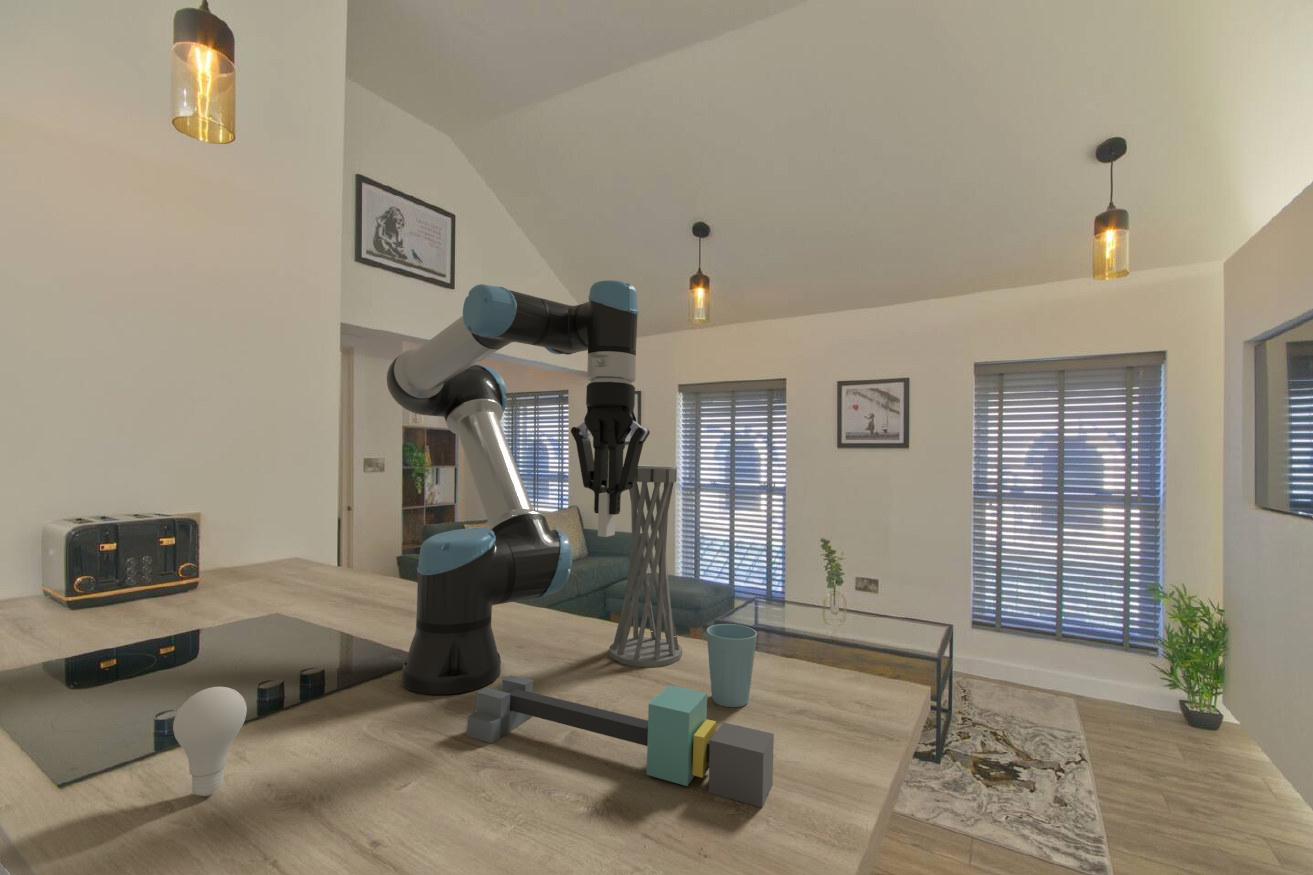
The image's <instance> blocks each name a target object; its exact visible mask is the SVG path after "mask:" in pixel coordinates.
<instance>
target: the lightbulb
mask: <svg viewBox="0 0 1313 875" xmlns="http://www.w3.org/2000/svg"><path fill="white" fill-rule="evenodd" d="M247 707H248V706H247V703H246V700H245V698H244V697H243V695H242V694H241V693H239V692H238V691H237V690H236V689H233V688H231V687H225V686H212V687H208V688H205V689H202V690H200V691H198V692H196V693H194V694H193V695H191V696H190V697H189V698H187V699H186V700H185V702H184V703H183V704H181V706H180V707H179V709H178V710H177V713H176V714H175V717H174V720H173V723H172V724H173V725H172V729H173V730H172V731H173V734H174V737H175V739H176V741H177V743H178V744H179V746H180V747H181V748H182V749H183V751H184V753H185V755H186V756H187V759H188V767H189V768H188V770H189V774H190V775H191V791H192V793H193V794H194V795H196V796H201V797H204V798H205V797H208V796H211V795H212V794H214V792H216V791H218V790H219V789H220V788H221V787H222V786H223V783H224V782H223V781H224V775H225V774H224V773H225V772H224V771H225V767H226V766H227V764H228V759H229V754H230V749H231V747H232V745H233V743H234V740H235V738H236V737H237V736H238V734H239V732H240V731H241V728H242V727H243V725H244V723H245V720H246V716H247V712H248V711H247V709H248V708H247Z"/></svg>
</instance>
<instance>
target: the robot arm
mask: <svg viewBox="0 0 1313 875" xmlns="http://www.w3.org/2000/svg"><path fill="white" fill-rule="evenodd" d="M638 307H639V306H638V291H637V289H636V288H635V287H634V286H633V285H632V284H630V283H627V282H624V281H620V280H615V279H613V280H599V281H597V282H594V283H593V284H592V285H591V286H590V288H589V296H588V301H587V302H584V303H580V304H575V305H570V304H564V303H561V302H558V301H554V300H549V299H546V298H541V297H538V296H535V295H530V294H525V293H522V292H518V291H516V290H515V291H514V290H511V289H508V288H505V287H503V286H497V285H495V286H494V285H487V284H481V283H480V284H476V285H474V286H473V287H471V289H470V290H469V291H468V295H467V296H466V297H465V299H464V303H463V307H462V316H460V317H459V318H458V319H456V320H455V321H454V322H452V323H451V324H449V325H448V326H447V327H446V328H444V329H443V330H441V331H440V332H439V333H437V334H436V335H435V336H433V337H432V338H431V339H429V340H428V341H427V342H425V343H424V344H422V346H420V347H419V348H412V349H408V350H405V351H403V352H402V353H401V354H399V355H398V356H397V357H396V358H395V359H393V361H392V362H391V364H390V365H389V367H388V370H387V373H386V385H387V389H388V392H389V393H390V395H391V397H392V398H393V400H394V401H395V402H396V403H397V404H398V405H400V406H401V407H402V408H403V409H405V410H407V411H408V412H411V413H413V414H416V415H420V416H429V417H443V418H444V420H445V423H446V426H447V428H448V430H449V431H450V432H451V433H453V434H455V435H458V437H459V440H460V444H461V446H462V450H463V453H464V455H465V459H466V461H467V464H468V467H469V469H470V473H471V476H472V479H473V482H474V485H475V487H476V488H475V489H476V490H477V494H478V496H479V497H478V498H479V500H480V502H481V506H482V508H483V512H484V514H485V517H486V520H487V523H488V526H489V528H488V527H487V528H486V527H472V528H468V529H467V528H459V529H453V530H449V531H444V532H440V533H437V534H434V535H432V536H430V537H428V538H427V539H425V540H424V541H423V542H422V544H421V546H420V549H419V557H418V563H417V567H416V572H417V587H416V588H417V590H416V593H417V595H416V625H415V633H414V635H413V638H412V640H411V644H410V647H409V650H408V654H407V658H406V659H405V660H404V662H403V664H402V670H401V673H402V674H401V685H402V686H403V687H404V688H406V689H407V690H409V691H412V692H414V693H419V694H424V695H451V694H452V695H453V694H454V695H455V694H461V693H466V692H470V691H474V690H478V689H481V688H483V687H485V686H488V685H490V684H492V683H493V682H495V681H496V680H497V679H498V678H499V677H500V675H501V670H502V669H501V668H502V665H501V663H502V662H501V660H502V658H501V656H500V653H499V652H498V647H497V645H496V644H497V643H496V640H495V636H494V632H493V628H492V617H493V616H492V614H493V613H492V612H493V606H496V605H503V604H507V603H514V602H518V601H519V602H520V601H526V600H529V599H530V600H532V599H535V598H536V599H540V598H543V597H544V596H549V595H553V594H556V593H558V592H559V591H561V590H562V589H563V588H564V587H565V585H566V583H567V581H568V580H569V577H570V574H571V569H572V566H573V550H572V545H571V541H570V539H569V538H568V536H567V535H566V534H565V533H564V532H562V531H561V530H559V529H556V528H554V529H550V526H549V523H548V521H547V518H546V517H545V515H544V514H543V513H541V512H538V511H535V510H534V507H533V505H532V503H531V499H530V498H529V494H528V492H527V490H526V487H525V484H524V481H523V480H522V477H521V474H520V472H519V469H518V466H517V463H516V461H515V458H514V455H513V454H512V450H511V449H510V445H509V443H508V441H507V438H506V435H505V432H504V430H503V427H502V425H501V422H500V421H501V420H502V418H503V415H504V412H505V410H506V408H507V404H508V403H507V402H508V397H507V396H506V394H508V392H507V385H506V384H505V383H506V382H505V381H504V379H503V377H502V376H501V375H500V373H499V372H497V371H496V370H495V369H493V368H490V367H486V366H483V365H481V364H478V363H479V362H481V361H483V360H484V359H486V358H487V357H490V356H491V355H493V354H494V353H496V352H498V351H499V350H501V349H502V348H504V347H506V346H509V344H512V343H517V344H518V343H519V344H525V345H531V346H536V347H541V348H545V349H546V350H547V351H548V352H550V353H551V354H554V355H566V356H567V355H572V354H576V353H580V352H586V351H587V368H586V369H587V373H586V374H587V375H586V378H587V380H588V381H589V383H587V385H586V392H585V393H586V394H585V395H586V396H585V397H586V398H585V399H586V400H585V401H586V402H585V404H586V410H587V411H586V414H585V416H584V418H583V422H582V423H581V424H580V425H578V426H576V427H575V426H573V427H571V429H570V434H571V435H572V437H573V439H574V440H575V444H576V449H577V455H578V460H579V466H580V468H579V469H580V473H581V480H582V484H583V487H584V488H586V489H589V490H591V491H593V493H594V499H593V500H594V501H593V502H594V504H593V511H594V514H598V519H597V520H598V521H597V537H604V538H607V537H611V536H615V534H616V516H617V515H619V514H620V512H621V498H622V497H621V495H622V493H623V492H625V491H628V490H629V489H631V488H632V487H633V483H634V479H635V475H636V471H637V467H638V465H639V462H640V458H641V455H642V451H643V447H644V443H645V442H646V441H647V438H648V437H649V435H650V434H651V431H650V429H649V428H645V427H643V426H642V425H640V424H639V423H638V422H637V417H636V415H635V413H634V411H635V410H634V409H635V404H636V387H635V386H634V384H632V383H634V382H636V376H637V374H636V365H637V364H636V363H637V362H636V361H637V360H636V357H637V356H636V355H637V335H638V333H637V332H638V330H637V329H638V316H639V308H638ZM628 435H630V439H629V442H628V445H627V450H626V454H625V456H624V451H625V448H626V439H627V437H628ZM590 436H592V442H591V439H590ZM592 447H593V448H592ZM593 449H594V452H593Z"/></svg>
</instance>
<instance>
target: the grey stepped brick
mask: <svg viewBox="0 0 1313 875" xmlns="http://www.w3.org/2000/svg"><path fill="white" fill-rule="evenodd" d="M515 689H520V690H524V691H528V692H532V693H534V680H533V679H529V678H524V677H521V676H516V675H511V674H510V675H508V676H506V677H504V678H503V679H501V690H497V689H494V688H489V687H485V688H483V689H481V690H479V691H477V693H476V712H474V713H471V714H470V715H469V716H467V731H466V732H467V733H466V737H469V738H472V739H475V740H478V741H481V742H484V743H485V742H486V743H488V744H493V743H495V742H496V741H498V740H499V739H500V738H503V736H505V735H507V734H508V733H510V732H511V731H513V730H514V729H516V728H517V727H519V726H520V725H521V724H523V723H524V722H526V721H528V720H529V719H531V718H532V717H533V716H530V715H526V714H522V713H519V712H515V711H511V710H510V692H512V691H514V690H515Z"/></svg>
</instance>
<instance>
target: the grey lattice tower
mask: <svg viewBox="0 0 1313 875" xmlns="http://www.w3.org/2000/svg"><path fill="white" fill-rule="evenodd" d="M677 470H678V466H677V465H660V464H659V465H656V464H654V465H653V464H652V465H651V464H638V467H637V471H636V475H635V479H634V483H633V487H632V488H631V489H628V490H629V497H630V507H631V509H630V511H631V513H630V514H631V554H630V560H629V566H628V567H629V568H628V573H627V579H626V580H627V581H626V587H625V593H624V599H623V605H622V609H621V613H620V617H619V620H618V624H617V628H616V632H615V636H614V641H613V643H611V645H610V646H609V648H608V649H609V650H608V651H609V658H611V659H613V660H615V661H617V663H618V662H619V663H621V665H626V666H631V667H637V668H638V667H639V668H655V667H662V666H669V665H672V664H674V663H677V662H679V661H680V660H681V658H682V656H683V648H682V647H681V645H680V644H679V641H678V636H677V631H676V626H675V622H674V621H675V620H674V617H673V611H672V610H673V609H672V606H671V595H670V594H671V593H670V585H669V584H670V583H669V575H668V562H667V554H666V553H667V540H668V539H667V536H668V519H669V516H668V515H669V508H670V504H671V499H672V498H671V497H672V493H673V487H674V483H677V477H678V476H677V473H678V471H677ZM638 483H641V488H640V491H639V484H638ZM648 483H653V486H654V487H653V491H652V494H651V497H650V492H649V487H648ZM661 483H663V490H662V493H661V490H660V487H661ZM645 504H646V510H647V512H646V516H645V512H644V508H645ZM655 508H656V514H655V517H654V510H655ZM649 529H650V530H651V534H649ZM641 531H642V533H641ZM644 547H645V548H644ZM644 549H645V550H646V551H645V554H644ZM653 550H655V553H653ZM639 565H640V572H639V570H638V569H639ZM648 567H649V568H650V572H651V573H650V576H649V581H648V574H647V570H648ZM657 570H658V571H657ZM642 589H643V591H644V598H645V601H644V606H643V611H642V612H643V613H642V618H641V621H640V626H639V599H640V595H641V592H642ZM653 590H655V591H654V592H655V594H656V599H657V600H656V601H657V602H656V616H655V618H656V620H654V613H653V607H652V594H653ZM631 595H632V600H631ZM630 600H631V603H630ZM647 620H648V621H647ZM647 622H648V623H649V628H650V630H649V631H650V637H648V636H644V635H645V630H646V625H647ZM662 626H663V631H664V635H665V638H662ZM631 628H632V635H633V636H632V637H629V635H630V632H631ZM651 631H653V632H651ZM674 636H676V637H674Z"/></svg>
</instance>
